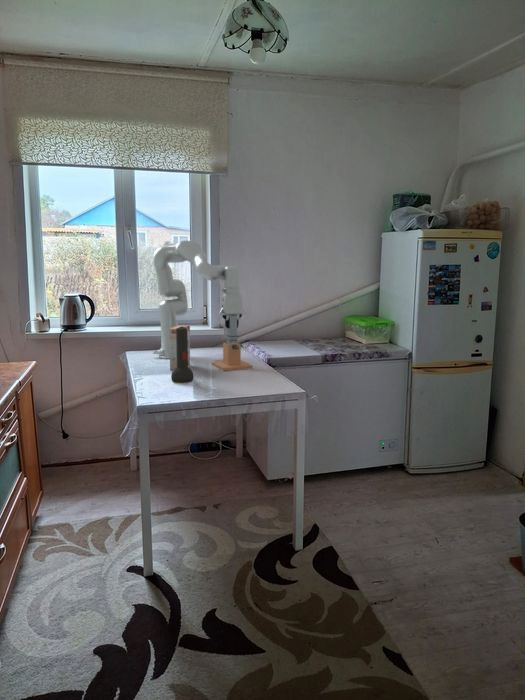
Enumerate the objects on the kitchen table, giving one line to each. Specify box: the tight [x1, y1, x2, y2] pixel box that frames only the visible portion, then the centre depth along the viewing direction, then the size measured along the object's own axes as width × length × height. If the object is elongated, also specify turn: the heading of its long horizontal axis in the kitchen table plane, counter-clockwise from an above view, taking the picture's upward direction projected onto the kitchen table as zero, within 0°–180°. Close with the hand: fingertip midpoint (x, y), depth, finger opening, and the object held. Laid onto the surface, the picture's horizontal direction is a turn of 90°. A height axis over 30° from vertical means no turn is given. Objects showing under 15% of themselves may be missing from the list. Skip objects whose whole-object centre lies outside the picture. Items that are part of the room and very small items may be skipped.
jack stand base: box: [211, 342, 253, 372], centre depth 257 cm, size 16×16×12 cm
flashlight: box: [170, 326, 195, 384], centre depth 225 cm, size 10×25×10 cm
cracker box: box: [169, 324, 191, 371], centre depth 252 cm, size 14×6×21 cm, turn 168°
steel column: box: [225, 314, 239, 345], centre depth 255 cm, size 5×5×20 cm
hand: (231, 327), depth 255 cm, fingers closed on steel column, 4 cm apart
